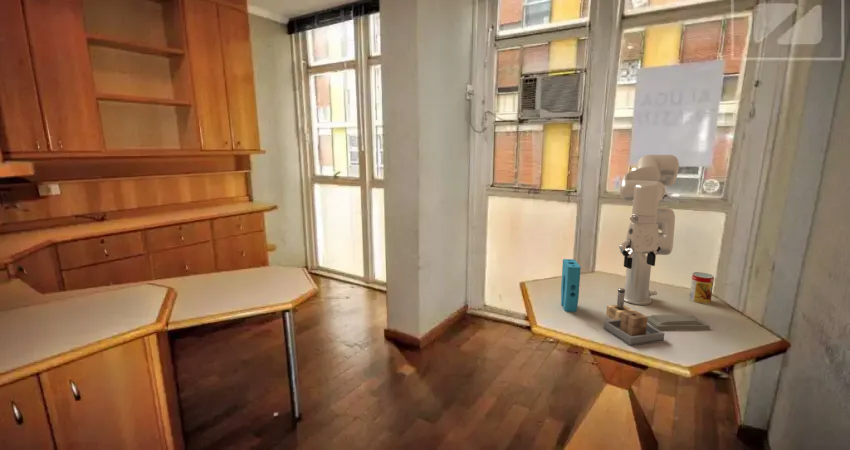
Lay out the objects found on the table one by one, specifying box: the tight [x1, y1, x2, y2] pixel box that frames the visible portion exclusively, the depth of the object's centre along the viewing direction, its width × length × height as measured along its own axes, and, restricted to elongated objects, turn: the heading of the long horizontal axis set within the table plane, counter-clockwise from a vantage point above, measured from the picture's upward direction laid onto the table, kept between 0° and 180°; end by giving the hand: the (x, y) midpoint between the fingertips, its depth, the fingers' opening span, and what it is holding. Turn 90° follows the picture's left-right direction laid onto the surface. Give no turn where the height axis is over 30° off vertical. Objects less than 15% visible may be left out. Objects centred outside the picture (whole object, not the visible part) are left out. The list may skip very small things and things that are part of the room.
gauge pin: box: [616, 287, 625, 310], centre depth 160 cm, size 2×2×12 cm
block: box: [560, 258, 582, 313], centre depth 169 cm, size 12×5×20 cm, turn 172°
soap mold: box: [646, 314, 711, 331], centre depth 154 cm, size 10×20×4 cm, turn 90°
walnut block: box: [620, 310, 648, 336], centre depth 145 cm, size 6×6×7 cm
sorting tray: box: [602, 319, 666, 347], centre depth 146 cm, size 14×14×3 cm
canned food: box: [688, 271, 715, 305], centre depth 176 cm, size 8×8×12 cm
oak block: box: [605, 304, 635, 320], centre depth 160 cm, size 7×7×4 cm
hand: (639, 266), depth 141 cm, fingers open, 9 cm apart
